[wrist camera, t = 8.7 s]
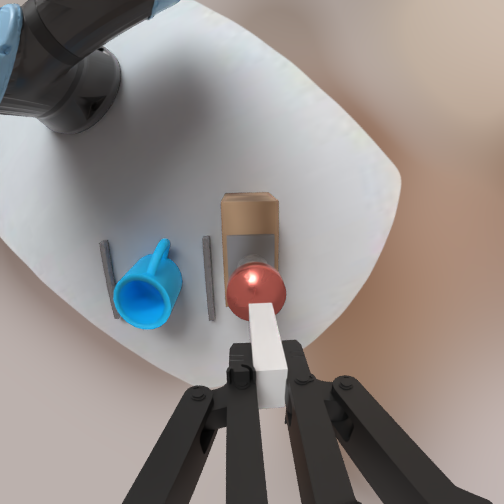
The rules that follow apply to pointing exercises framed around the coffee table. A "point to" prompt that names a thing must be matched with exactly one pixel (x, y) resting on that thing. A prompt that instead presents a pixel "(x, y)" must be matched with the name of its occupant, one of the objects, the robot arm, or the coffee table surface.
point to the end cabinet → (249, 229)
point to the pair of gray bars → (111, 285)
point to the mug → (149, 289)
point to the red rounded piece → (254, 286)
